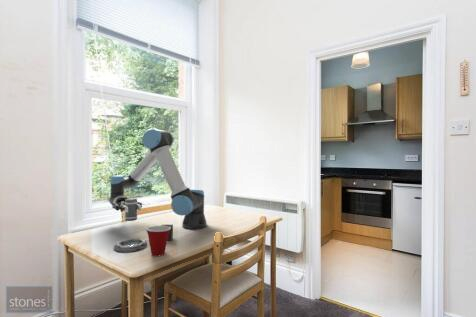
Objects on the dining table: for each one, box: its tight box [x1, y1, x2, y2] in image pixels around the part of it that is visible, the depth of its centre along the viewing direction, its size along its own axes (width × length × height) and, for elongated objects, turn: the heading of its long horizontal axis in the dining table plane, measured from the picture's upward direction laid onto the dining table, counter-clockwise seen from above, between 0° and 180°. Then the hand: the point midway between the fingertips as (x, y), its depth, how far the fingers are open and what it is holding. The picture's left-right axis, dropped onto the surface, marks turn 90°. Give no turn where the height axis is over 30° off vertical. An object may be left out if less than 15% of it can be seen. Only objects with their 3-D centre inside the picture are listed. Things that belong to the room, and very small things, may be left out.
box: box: [160, 224, 174, 242], centre depth 136 cm, size 6×6×7 cm
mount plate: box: [113, 238, 148, 253], centre depth 125 cm, size 15×15×2 cm
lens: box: [124, 197, 138, 222], centre depth 139 cm, size 6×6×11 cm
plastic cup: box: [145, 225, 171, 257], centre depth 117 cm, size 11×11×12 cm
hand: (134, 208), depth 135 cm, fingers closed on lens, 6 cm apart
